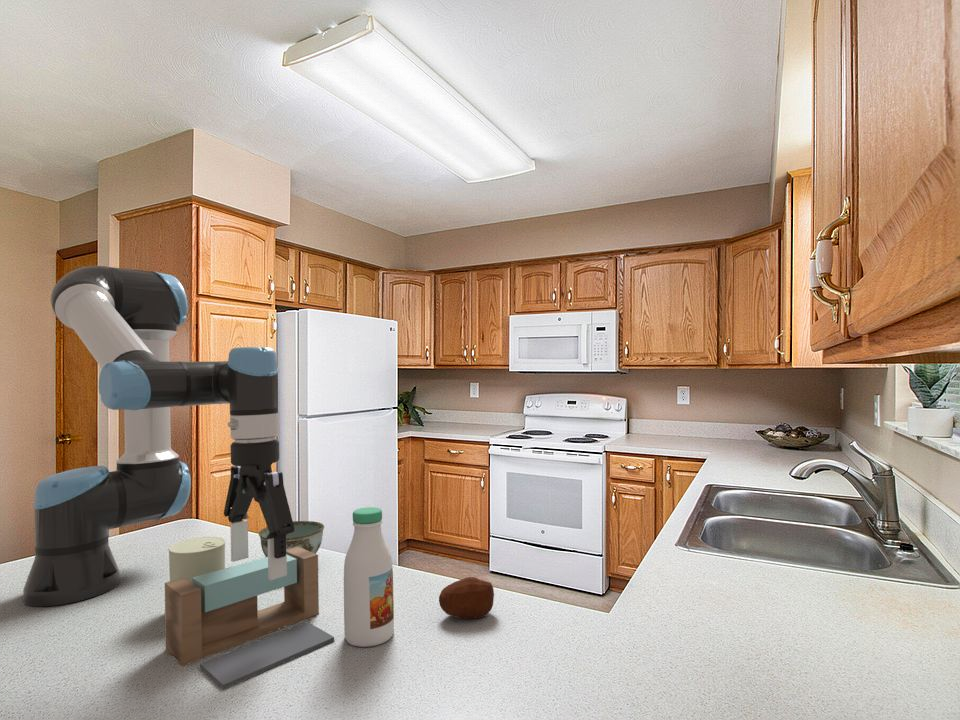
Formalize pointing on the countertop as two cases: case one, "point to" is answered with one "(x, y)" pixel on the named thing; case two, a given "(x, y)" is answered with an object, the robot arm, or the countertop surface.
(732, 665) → the countertop surface
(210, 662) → the mat
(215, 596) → the slab
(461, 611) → the potato
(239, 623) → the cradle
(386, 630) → the milk bottle
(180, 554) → the can
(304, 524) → the bowl
